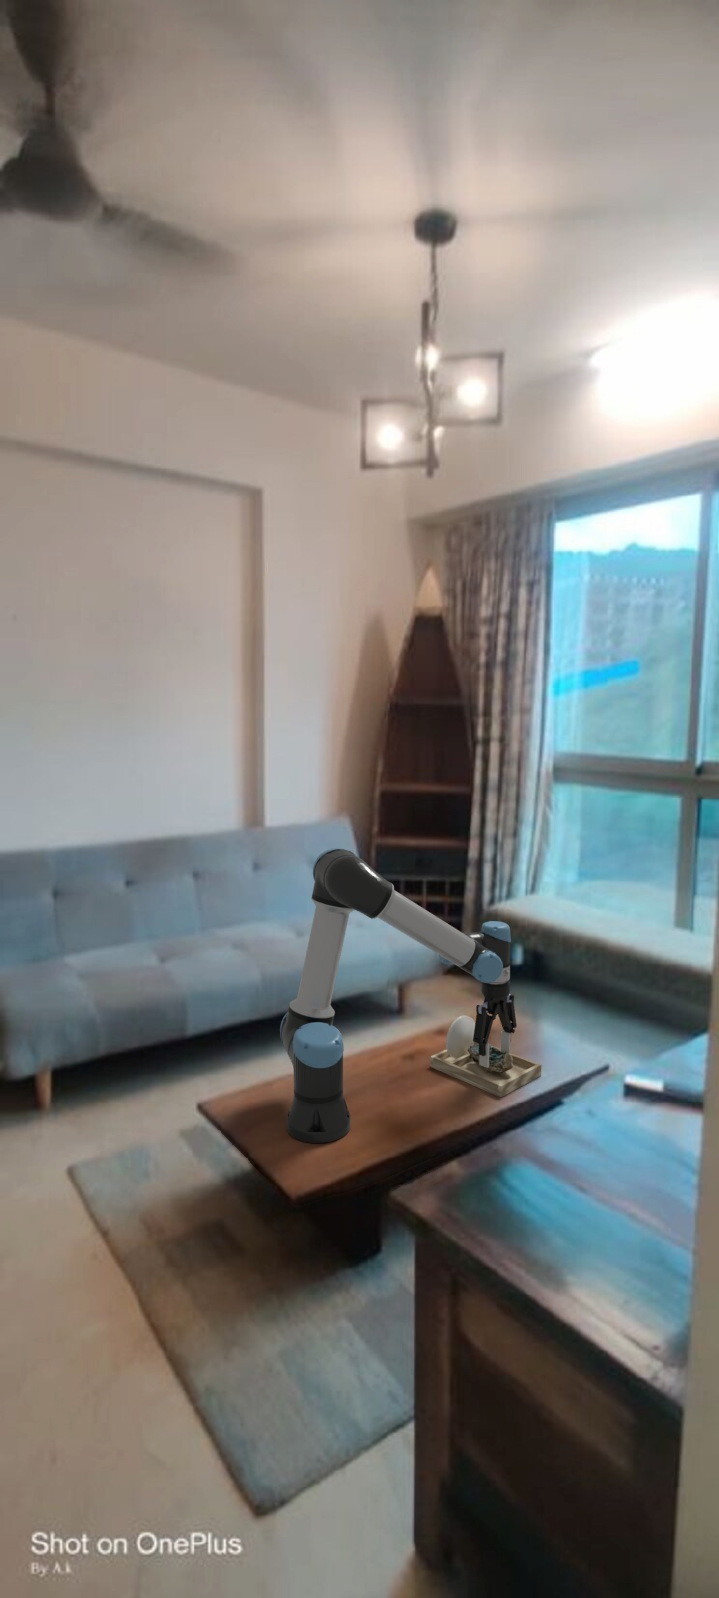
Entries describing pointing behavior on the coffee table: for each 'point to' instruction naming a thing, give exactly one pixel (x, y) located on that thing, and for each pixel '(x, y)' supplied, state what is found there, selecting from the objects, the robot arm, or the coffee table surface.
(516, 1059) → the wooden tray
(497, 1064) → the mineral specimen
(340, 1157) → the coffee table surface
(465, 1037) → the standing plate
